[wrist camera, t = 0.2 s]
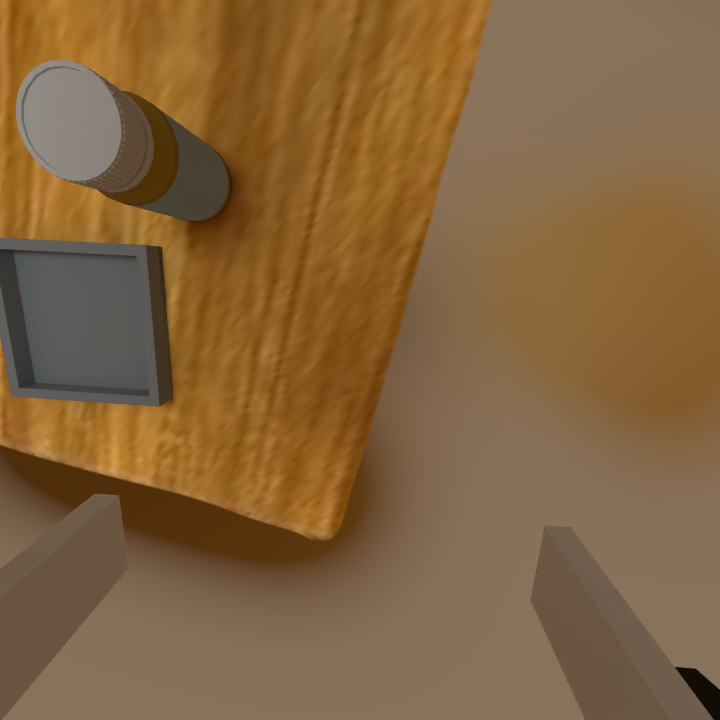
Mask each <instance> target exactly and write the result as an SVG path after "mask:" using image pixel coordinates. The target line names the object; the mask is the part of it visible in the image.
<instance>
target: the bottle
mask: <svg viewBox="0 0 720 720" xmlns="http://www.w3.org/2000/svg"><path fill="white" fill-rule="evenodd" d="M16 118H17V124H18V128H19V132H20V135H21V137H22V140H23V142H24V144H25V146H26V148H27V149H28V151H29V152H30V154H31V155H32V156H33V158H34V159H35V160H36V161H37V162H38V163H39V164H40V165H41V166H42V167H43V168H44V169H46V170H47V171H49V172H50V173H52V174H54V175H55V176H56V177H59V178H61V179H63V180H66V181H69V182H72V183H76V184H79V185H83V186H86V187H90V188H94V189H97V190H98V191H100V192H101V193H102V194H103V195H105V196H106V197H108V198H111V199H113V200H115V201H118V202H121V203H123V204H127V205H131V206H134V207H138V208H142V209H146V210H150V211H154V212H157V213H161V214H165V215H169V216H173V217H177V218H180V219H184V220H189V221H205V220H208V219H211V218H213V217H214V216H216V215H217V214H219V213H220V212H221V211H222V209H223V208H224V206H225V205H226V203H227V201H228V197H229V194H230V176H229V173H228V169H227V167H226V164H225V163H224V161H223V160H222V158H221V157H220V155H219V154H218V153H217V152H216V151H214V150H213V149H212V148H211V147H210V146H209V145H207V144H206V143H205V142H203V141H202V140H201V139H199V138H198V137H196V136H195V135H194V134H192V133H191V132H190V131H188V130H187V129H186V128H184V127H183V126H181V125H180V124H179V123H177V122H176V121H175V120H173V119H172V118H171V117H169V116H168V115H166V114H165V113H164V112H162V111H161V110H160V109H158V108H157V107H156V106H154V105H153V104H151V103H150V102H148V101H147V100H145V99H143V98H142V97H140V96H137V95H135V94H133V93H130V92H126V91H121V90H119V89H118V88H117V87H116V86H114V85H113V84H111V83H110V82H108V81H107V80H106V79H104V78H103V77H101V76H100V75H98V74H97V73H96V72H94V71H92V70H91V69H90V68H88V67H85V66H84V65H80V64H78V63H76V62H72V61H67V60H52V61H48V62H45V63H42V64H40V65H38V66H37V67H35V68H34V69H33V70H32V71H31V72H30V73H29V74H28V75H27V76H26V78H25V79H24V81H23V82H22V84H21V87H20V89H19V92H18V96H17V102H16Z"/></svg>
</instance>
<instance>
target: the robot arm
mask: <svg viewBox="0 0 720 720" xmlns="http://www.w3.org/2000/svg"><path fill="white" fill-rule="evenodd" d="M127 570H128V562H127V555H126V547H125V539H124V532H123V525H122V517H121V510H120V502H119V496H117V495H104V494H94V495H93V496H92V497H90V498H89V499H88V500H87V501H85V502H84V503H83V504H82V505H80V506H79V507H78V508H76V509H75V510H74V511H73V512H72V513H70V514H69V515H68V516H66V517H65V518H64V519H63V520H61V521H60V522H59V523H58V524H56V525H55V526H54V527H52V528H51V529H50V530H49V531H47V532H46V533H45V534H44V535H42V536H41V537H40V538H39V539H37V540H36V541H35V542H34V543H32V544H31V545H30V546H28V547H27V548H26V549H25V550H23V551H22V552H21V553H20V554H18V555H17V556H16V557H14V558H13V559H12V560H11V561H9V562H8V563H7V564H6V565H4V566H3V567H2V568H1V569H0V720H2V719H3V718H4V717H5V715H6V714H7V713H8V712H9V711H10V709H11V708H12V707H13V706H14V705H15V703H16V702H17V701H18V700H19V699H20V697H21V696H22V695H23V694H24V693H25V691H26V690H27V689H28V688H29V687H30V685H31V684H32V683H33V682H34V681H35V680H36V678H37V677H38V676H39V675H40V673H41V672H42V671H43V670H44V669H45V668H46V666H47V665H48V664H49V663H50V662H51V660H52V659H53V658H54V657H55V656H56V654H57V653H58V652H59V651H60V650H61V648H62V647H63V646H64V645H65V644H66V642H67V641H68V640H69V639H70V638H71V637H72V635H73V634H74V633H75V632H76V631H77V629H78V628H79V627H80V626H81V625H82V623H83V622H84V621H85V620H86V619H87V617H88V616H89V614H91V613H92V611H93V610H94V609H95V608H96V607H97V606H98V604H99V603H100V602H101V601H102V599H103V598H104V597H105V596H106V595H107V594H108V592H109V591H110V590H111V589H112V587H113V586H114V585H115V584H116V583H117V582H118V580H119V579H120V578H121V577H122V576H123V574H124V573H125V572H126V571H127ZM531 602H532V604H533V607H534V609H535V611H536V613H537V615H538V617H539V620H540V622H541V624H542V626H543V628H544V631H545V633H546V635H547V637H548V640H549V642H550V643H551V646H552V648H553V650H554V653H555V655H556V657H557V659H558V661H559V664H560V666H561V668H562V670H563V672H564V675H565V677H566V679H567V681H568V683H569V685H570V688H571V690H572V692H573V694H574V696H575V698H576V701H577V703H578V705H579V707H580V710H581V712H582V714H583V716H584V718H585V720H720V690H719V689H718V688H717V687H716V686H715V685H714V684H713V683H711V682H710V681H709V680H708V679H707V678H706V677H704V676H703V675H702V674H701V673H700V672H699V671H697V669H693V668H681V667H674V666H673V664H672V663H671V662H670V660H669V659H668V658H667V656H666V655H665V654H664V652H663V651H662V650H661V648H660V647H659V645H658V644H657V643H656V641H655V640H654V639H653V637H652V636H651V635H650V633H649V632H648V631H647V629H646V628H645V627H644V625H643V624H642V623H641V621H640V620H639V619H638V617H637V616H636V614H635V613H634V612H633V610H632V609H631V608H630V606H629V605H628V604H627V602H626V601H625V600H624V598H623V597H622V596H621V594H620V593H619V592H618V590H617V589H616V587H615V586H614V585H613V583H612V582H611V581H610V579H609V578H608V577H607V575H606V574H605V573H604V571H603V570H602V569H601V567H600V566H599V564H598V563H597V562H596V560H595V559H594V558H593V556H592V555H591V554H590V553H589V551H588V550H587V548H586V547H585V546H584V544H583V543H582V542H581V540H580V539H579V538H578V536H577V535H576V534H575V532H574V531H573V529H572V528H571V527H556V526H545V528H544V533H543V538H542V544H541V549H540V554H539V560H538V564H537V570H536V575H535V580H534V585H533V590H532V596H531Z"/></svg>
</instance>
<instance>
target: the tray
mask: <svg viewBox="0 0 720 720" xmlns="http://www.w3.org/2000/svg"><path fill="white" fill-rule="evenodd" d="M0 338H1V343H2V349H3V354H4V359H5V365H6V370H7V376H8V381H9V386H10V392H11V396H14V397H29V398H44V399H58V400H73V401H88V402H103V403H118V404H132V405H147V406H161V405H163V404H164V403H166V402H167V401H169V400H171V399H172V398H173V395H172V382H171V369H170V355H169V342H168V329H167V316H166V303H165V290H164V276H163V263H162V250H161V247H156V246H147V245H128V244H108V243H89V242H69V241H49V240H29V239H10V238H0Z"/></svg>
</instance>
